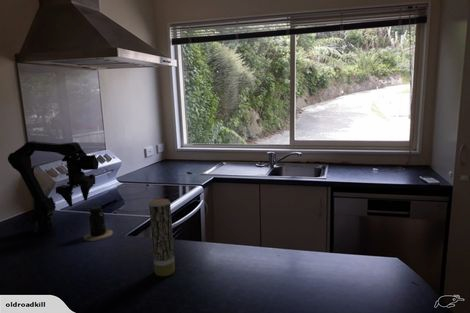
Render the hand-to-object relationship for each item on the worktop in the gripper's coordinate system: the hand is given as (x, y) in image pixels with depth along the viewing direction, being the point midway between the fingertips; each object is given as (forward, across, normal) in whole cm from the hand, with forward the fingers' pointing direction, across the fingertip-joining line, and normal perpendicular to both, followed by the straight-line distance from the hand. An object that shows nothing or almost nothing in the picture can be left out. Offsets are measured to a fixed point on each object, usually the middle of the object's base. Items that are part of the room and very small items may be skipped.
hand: (78, 203), depth 156 cm
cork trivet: (+13, -4, -13) cm, 19 cm away
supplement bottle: (+12, -4, -13) cm, 18 cm away
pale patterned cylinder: (+13, -26, -59) cm, 66 cm away
